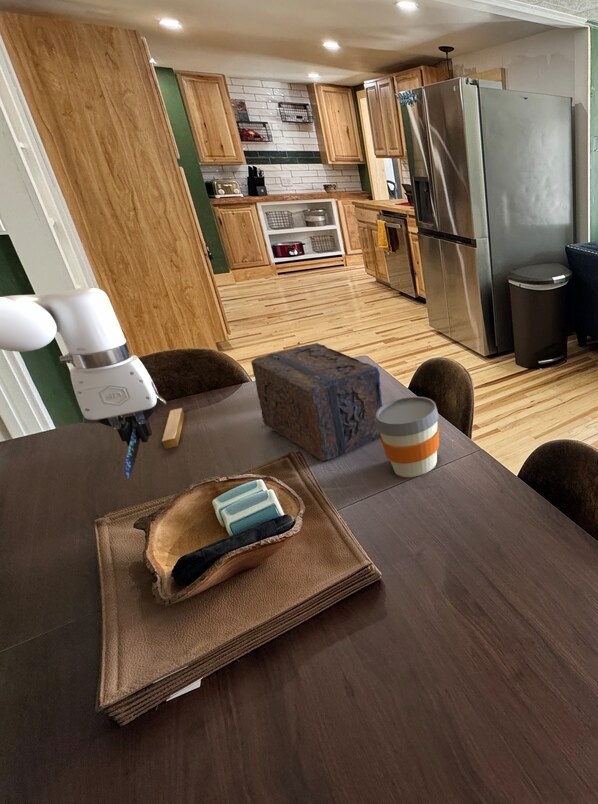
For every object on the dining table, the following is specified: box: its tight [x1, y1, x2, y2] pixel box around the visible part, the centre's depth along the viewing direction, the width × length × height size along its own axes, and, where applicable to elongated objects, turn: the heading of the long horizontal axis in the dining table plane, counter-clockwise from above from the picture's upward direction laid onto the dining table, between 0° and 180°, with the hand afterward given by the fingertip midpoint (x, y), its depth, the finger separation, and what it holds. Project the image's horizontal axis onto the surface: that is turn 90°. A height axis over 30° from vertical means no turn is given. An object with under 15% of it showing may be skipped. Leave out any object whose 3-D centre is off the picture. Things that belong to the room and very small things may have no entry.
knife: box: [124, 413, 153, 479], centre depth 94 cm, size 31×3×4 cm, turn 33°
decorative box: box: [250, 342, 383, 462], centre depth 117 cm, size 31×20×20 cm
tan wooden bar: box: [161, 407, 185, 450], centre depth 119 cm, size 2×18×2 cm, turn 35°
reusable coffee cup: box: [376, 396, 440, 478], centre depth 104 cm, size 13×13×15 cm
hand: (139, 440), depth 94 cm, fingers closed on knife, 1 cm apart
